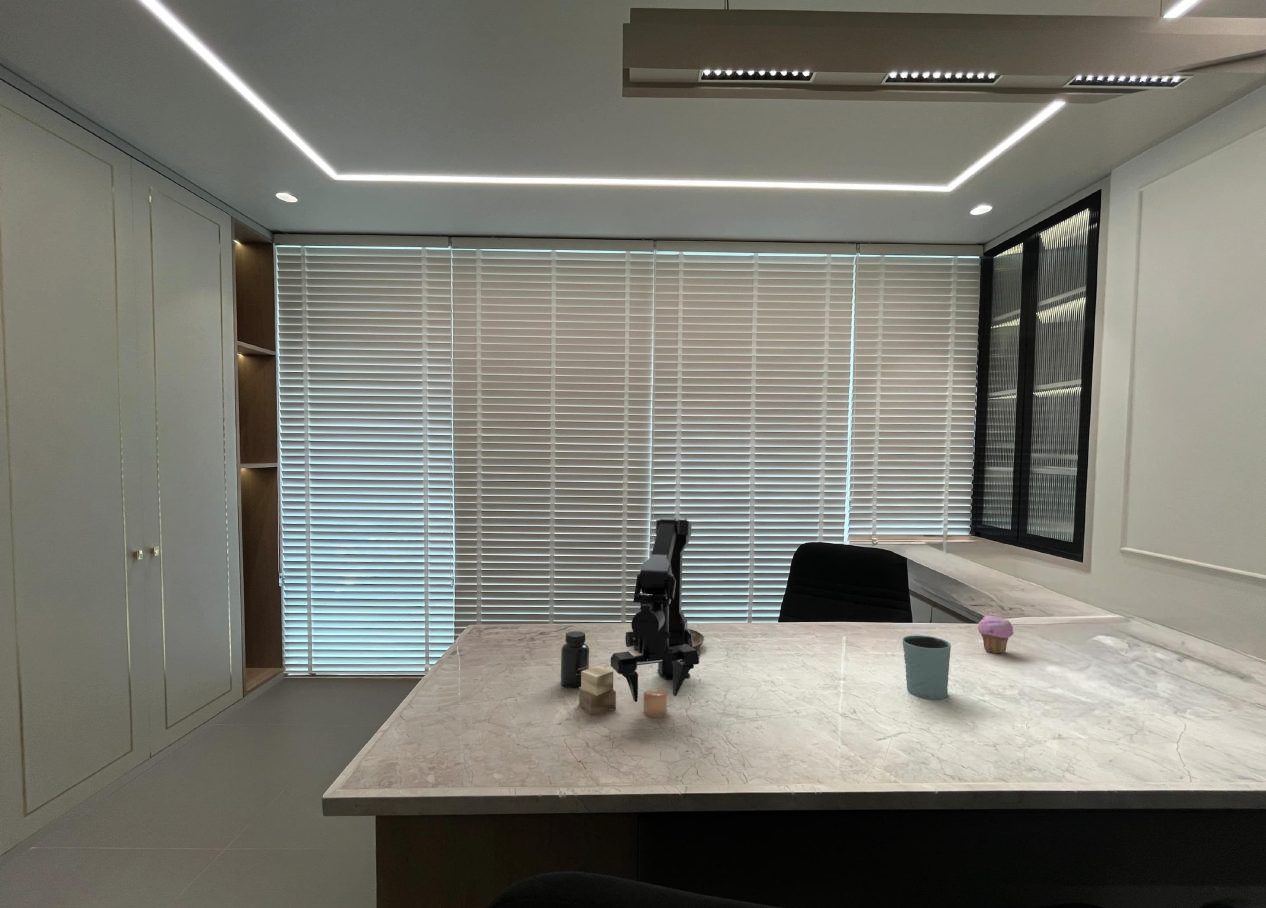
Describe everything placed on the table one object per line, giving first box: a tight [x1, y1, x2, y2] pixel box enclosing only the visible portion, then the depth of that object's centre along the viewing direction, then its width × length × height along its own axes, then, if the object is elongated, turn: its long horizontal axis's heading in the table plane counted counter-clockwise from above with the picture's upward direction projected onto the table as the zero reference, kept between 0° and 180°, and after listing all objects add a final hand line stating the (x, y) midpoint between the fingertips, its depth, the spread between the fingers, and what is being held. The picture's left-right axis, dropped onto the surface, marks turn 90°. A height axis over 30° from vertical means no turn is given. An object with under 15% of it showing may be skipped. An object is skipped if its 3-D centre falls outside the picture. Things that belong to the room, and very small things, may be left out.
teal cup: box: [901, 634, 952, 701], centre depth 139 cm, size 10×10×12 cm
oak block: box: [581, 665, 614, 696], centre depth 130 cm, size 5×5×4 cm
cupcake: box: [977, 615, 1014, 654], centre depth 169 cm, size 9×9×10 cm
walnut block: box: [578, 687, 617, 715], centre depth 130 cm, size 6×6×4 cm
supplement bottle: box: [560, 630, 590, 689], centre depth 144 cm, size 7×7×12 cm
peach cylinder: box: [643, 688, 668, 718], centre depth 127 cm, size 5×5×4 cm
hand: (655, 698), depth 127 cm, fingers open, 9 cm apart
